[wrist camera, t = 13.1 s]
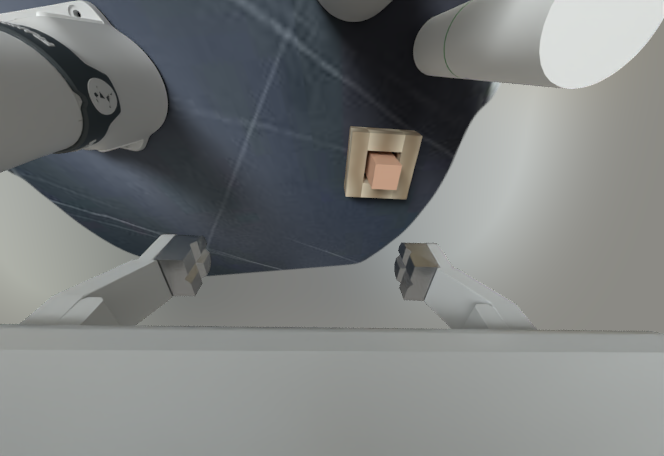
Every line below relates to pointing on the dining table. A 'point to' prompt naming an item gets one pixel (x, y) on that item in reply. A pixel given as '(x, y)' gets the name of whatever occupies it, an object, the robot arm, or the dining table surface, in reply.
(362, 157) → the socket block
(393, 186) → the peg
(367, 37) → the dining table surface
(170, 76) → the dining table surface
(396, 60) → the dining table surface
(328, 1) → the cylinder vase
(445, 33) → the cylindrical container
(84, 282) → the robot arm
